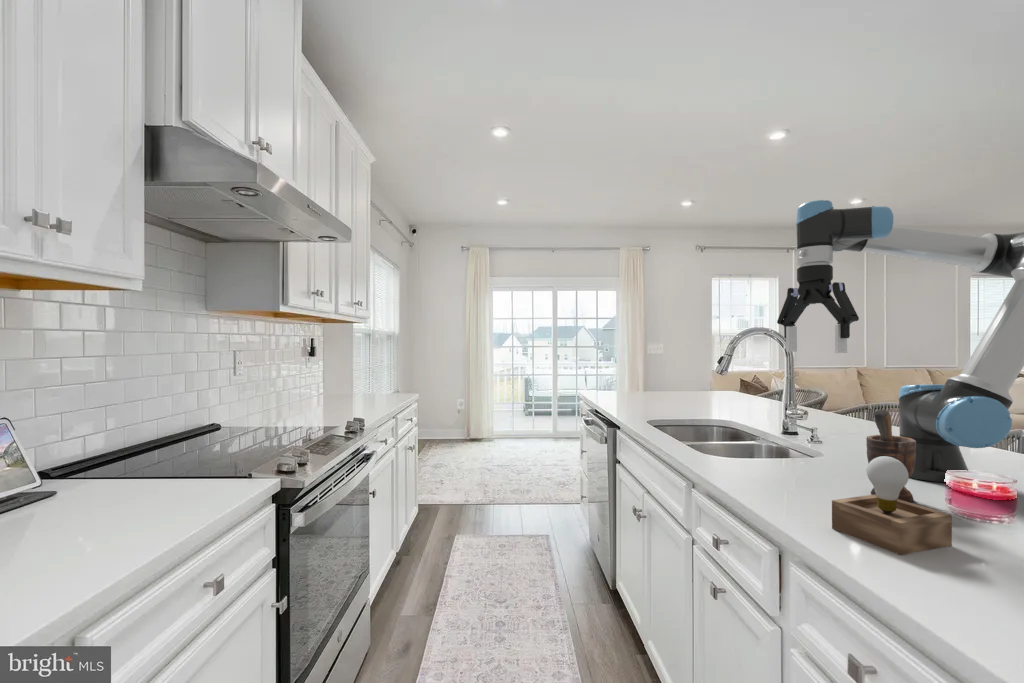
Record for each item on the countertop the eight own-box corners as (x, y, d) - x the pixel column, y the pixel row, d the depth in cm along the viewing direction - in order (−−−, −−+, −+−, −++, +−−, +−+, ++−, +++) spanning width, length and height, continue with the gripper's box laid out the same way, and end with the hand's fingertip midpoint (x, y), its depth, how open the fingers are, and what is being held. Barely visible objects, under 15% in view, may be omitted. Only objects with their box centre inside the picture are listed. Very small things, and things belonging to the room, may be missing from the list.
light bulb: (899, 509, 88) (900, 454, 88) (914, 520, 83) (915, 462, 83) (861, 505, 90) (861, 451, 90) (873, 516, 85) (873, 459, 85)
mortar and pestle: (923, 511, 99) (923, 412, 99) (870, 504, 103) (870, 409, 103) (912, 495, 109) (911, 405, 109) (864, 489, 113) (864, 403, 113)
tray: (879, 520, 94) (879, 493, 94) (951, 545, 82) (951, 514, 82) (831, 528, 90) (831, 500, 90) (900, 555, 79) (900, 523, 79)
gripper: (762, 272, 131) (762, 351, 131) (852, 256, 107) (852, 353, 107) (784, 273, 133) (784, 351, 133) (877, 258, 109) (877, 353, 109)
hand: (815, 352), depth 120 cm, fingers open, 13 cm apart
